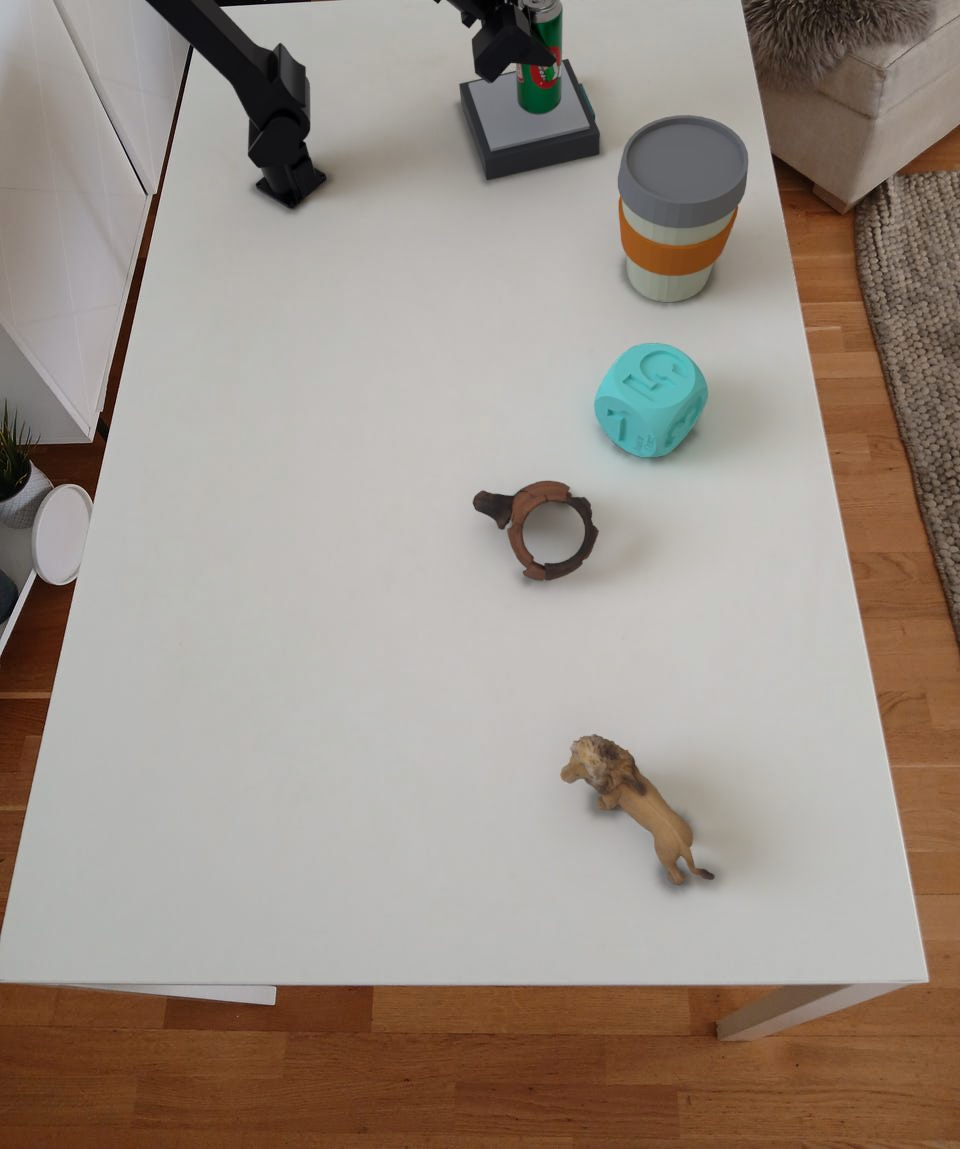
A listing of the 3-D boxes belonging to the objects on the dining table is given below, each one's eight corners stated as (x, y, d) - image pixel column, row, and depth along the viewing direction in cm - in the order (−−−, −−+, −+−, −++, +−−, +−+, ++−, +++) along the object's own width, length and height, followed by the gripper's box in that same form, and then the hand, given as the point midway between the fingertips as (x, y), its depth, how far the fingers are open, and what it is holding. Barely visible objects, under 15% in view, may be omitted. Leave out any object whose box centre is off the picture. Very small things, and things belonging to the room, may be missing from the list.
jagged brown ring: (597, 495, 90) (614, 494, 82) (572, 587, 91) (587, 595, 83) (480, 463, 89) (486, 459, 81) (455, 556, 90) (459, 562, 82)
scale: (486, 180, 109) (484, 156, 106) (461, 104, 115) (458, 79, 112) (604, 153, 110) (605, 128, 107) (572, 79, 116) (573, 53, 113)
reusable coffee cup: (748, 264, 101) (778, 149, 87) (678, 334, 97) (697, 226, 84) (658, 212, 105) (673, 95, 91) (587, 277, 102) (592, 166, 88)
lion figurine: (551, 788, 78) (550, 763, 70) (589, 740, 79) (592, 710, 71) (695, 904, 73) (712, 892, 65) (732, 851, 74) (753, 833, 66)
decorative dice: (591, 428, 93) (594, 380, 86) (640, 379, 95) (647, 328, 88) (653, 471, 90) (661, 425, 83) (703, 419, 92) (715, 370, 85)
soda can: (522, 85, 106) (519, -19, 95) (565, 90, 105) (567, -16, 94) (512, 115, 104) (509, 11, 93) (556, 119, 103) (557, 16, 92)
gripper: (503, -59, 79) (620, 46, 89) (485, -175, 88) (594, -67, 97) (424, 38, 87) (540, 126, 96) (414, -77, 95) (522, 14, 105)
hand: (550, 47), depth 98 cm, fingers closed on soda can, 5 cm apart
